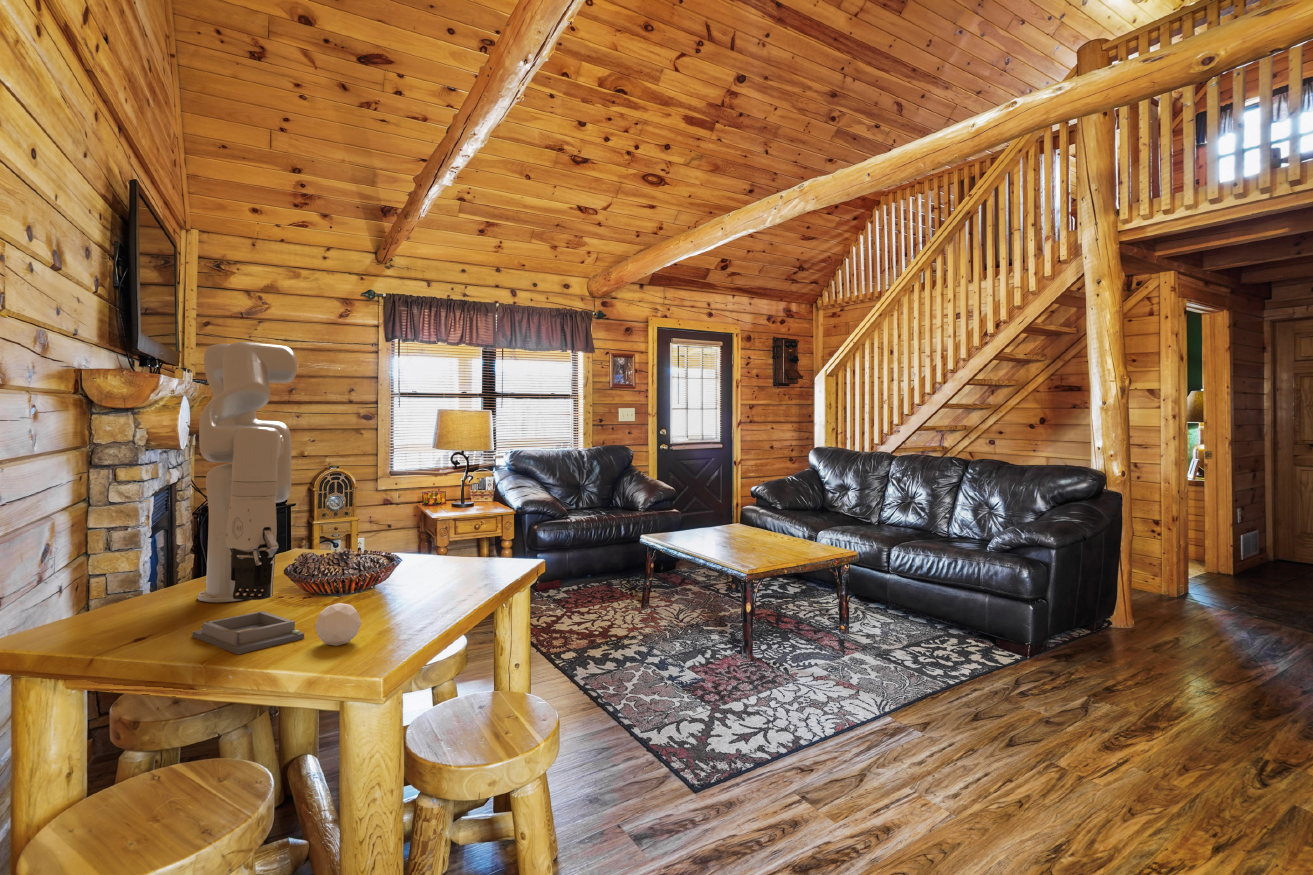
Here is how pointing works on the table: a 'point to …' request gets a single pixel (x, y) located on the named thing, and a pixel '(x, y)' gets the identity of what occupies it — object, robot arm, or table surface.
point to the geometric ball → (338, 624)
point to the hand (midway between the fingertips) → (250, 581)
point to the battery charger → (248, 577)
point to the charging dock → (248, 632)
